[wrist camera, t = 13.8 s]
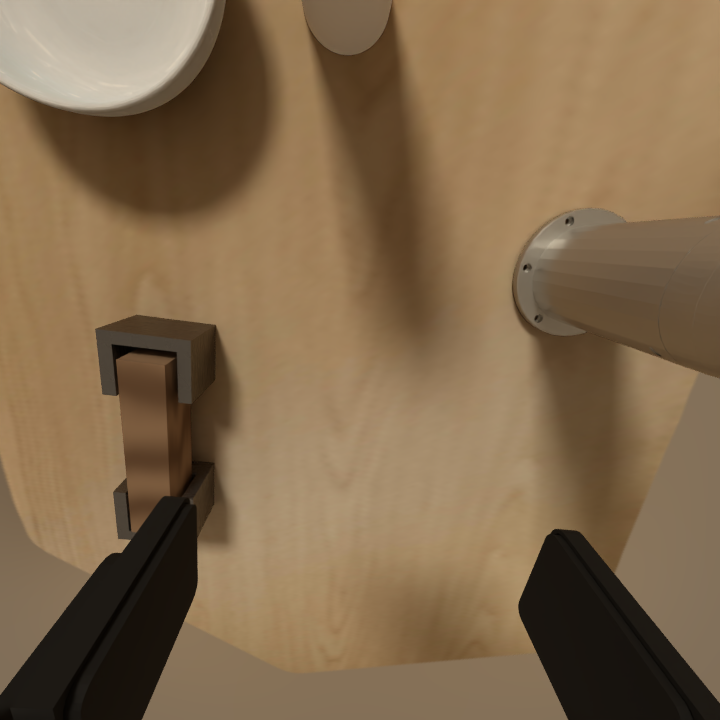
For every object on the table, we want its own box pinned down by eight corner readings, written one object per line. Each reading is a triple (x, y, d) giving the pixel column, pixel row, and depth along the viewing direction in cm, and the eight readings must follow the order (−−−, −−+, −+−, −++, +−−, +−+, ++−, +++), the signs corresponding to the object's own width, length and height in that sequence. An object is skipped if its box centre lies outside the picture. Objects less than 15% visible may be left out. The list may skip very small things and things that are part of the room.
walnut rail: (148, 343, 33) (116, 359, 29) (189, 348, 34) (164, 365, 29) (156, 497, 39) (131, 531, 35) (192, 500, 40) (171, 534, 35)
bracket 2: (213, 504, 43) (193, 544, 37) (148, 498, 42) (118, 538, 36) (214, 463, 41) (193, 498, 35) (146, 456, 40) (113, 491, 34)
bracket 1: (136, 314, 34) (95, 328, 29) (215, 325, 35) (190, 340, 29) (140, 370, 36) (102, 394, 31) (214, 379, 37) (191, 404, 31)
